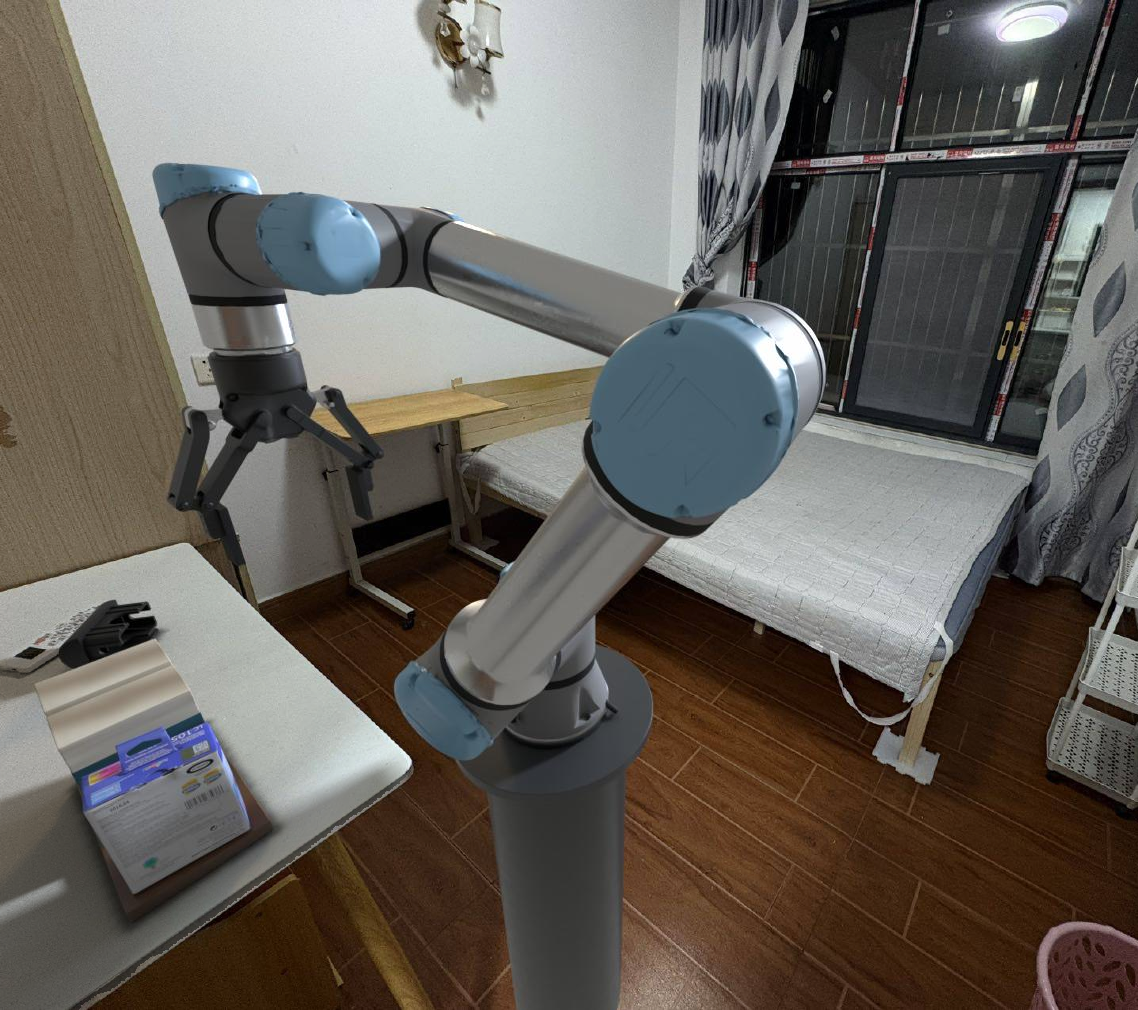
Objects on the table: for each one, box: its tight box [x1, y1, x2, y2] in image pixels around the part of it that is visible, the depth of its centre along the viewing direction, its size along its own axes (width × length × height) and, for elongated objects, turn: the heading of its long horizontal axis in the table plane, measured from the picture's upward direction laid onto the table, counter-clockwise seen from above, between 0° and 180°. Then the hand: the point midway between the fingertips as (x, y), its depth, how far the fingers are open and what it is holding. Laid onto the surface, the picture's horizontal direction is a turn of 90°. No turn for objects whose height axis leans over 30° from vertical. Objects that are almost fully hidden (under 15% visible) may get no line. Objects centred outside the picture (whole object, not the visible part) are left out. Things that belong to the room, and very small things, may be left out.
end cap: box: [57, 599, 160, 670], centre depth 83 cm, size 10×7×7 cm
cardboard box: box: [33, 638, 275, 923], centre depth 59 cm, size 23×12×16 cm, turn 53°
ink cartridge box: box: [81, 721, 250, 894], centre depth 55 cm, size 10×6×14 cm, turn 137°
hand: (305, 537), depth 63 cm, fingers open, 13 cm apart
